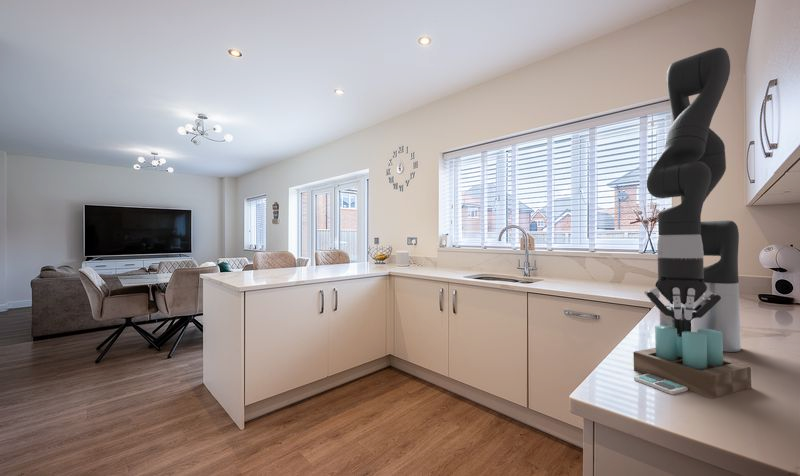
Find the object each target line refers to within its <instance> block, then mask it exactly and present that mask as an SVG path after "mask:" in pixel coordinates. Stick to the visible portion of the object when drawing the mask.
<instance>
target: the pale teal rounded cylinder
mask: <svg viewBox="0 0 800 476" xmlns="http://www.w3.org/2000/svg"><path fill="white" fill-rule="evenodd" d="M654 331H655V333H654V334H655V336H654V337H655V348H656V357H658V358H662V359H665V360H668V361H676V360H678V346H677V329H676V328H674V327H669V326H660V325H655V326H654Z"/></svg>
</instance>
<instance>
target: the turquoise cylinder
mask: <svg viewBox="0 0 800 476" xmlns="http://www.w3.org/2000/svg"><path fill="white" fill-rule="evenodd" d="M698 333H702V334H705V335H706V339H707V364H710V365H713V366H717V367H719V366H723V359H724V351H723V340H722V332H720V331H716V330H710V329H698Z"/></svg>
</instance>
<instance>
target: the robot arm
mask: <svg viewBox="0 0 800 476" xmlns="http://www.w3.org/2000/svg"><path fill="white" fill-rule="evenodd" d="M730 72H731V61H730V55H729V52H728V51H727V50H726V48H723V47H716V48H712V49H708V50H704V51H702V52H700V53H696V54H694V55H691V56H688V57H685V58H682V59H679V60H676V61H674V62H672V63H671V64H670V65H669V67H668V68H667V71H666V86H667V92H668V99H669V103H670V104H669V105H670V109H671V115H672V119H673V120H672V121H673V122H672V124H671V125H670V127H669V130H668V133H667V136H666V139H665V144H664V149H663V151H662V153H661V154H660V156H659V157H658V159H657V160H656V162H655V163H654V165H652V168H651V169H650V171H649V173H648V175H647V180H646V188H647V191H648V192H649V194H650V195H651V196H652V197H654V198H657V199H669V198H677V197H680V204H678V205H675V206H672V207H668V208H665V209H662V210H660V211H659V213H658V215H657V216H658V217H657V226H658V239H657V246H656V248H657V278H658V279H657V281H656V283H655V285H654V287H653V288H651V289H650V290H645V291H644V295H645V296H646V297H647V298H648V299H649V301H651V303H652V304H654V306H655V307H656V308H657V309H658V310H659V312H660V311H661V312H662V313H663V314H665V315H666V316H671V317H672V327H674V328H676V329H677V335H678V336H679V337H682V332H685V331H689V332H697V333H698V329H710V330H716V331H720V332H722V340H723V352H725V353H726V352H727V353H728V352H729V353H734V352H740V351H741V347H742V346H741V345H742V344H741V340H742V339H741V314H740V310H741V309H740V289H739V288H740V287H739V286H740V285H739V246H740V245H739V243H740V242H739V241H740V240H739V239H740V234H739V227H738V225H737V223H736V222H734V221H733V220H711V221H708V220H707V221H702V220H701V216H702V215H701V214H702V210H703V205H704V202H705V201H706V199H707V198H708V197H709V195H710V194H711V192H712V191H713V190H714V189H715V188H716V187H717V185H718V184H719V182H720V181H721V179H722V178H723V177H724V175H725V173H726V171H727V161H726V160H727V159H726V146H725V143H724V141H723V140H722V138H721V137H720V136H719V135H718V134H717V133H716V132H715V131H714V130H712V128H710V127H711V123H712V120H713V116H714V115H715V113H716V110H717V108H718V107H719V104H720V102H721V98H722V97H723V94H724V92H725V89H726V87H727V84H728V81H729V78H730V74H731V73H730ZM695 95H697V96H696V97H695V99H693V101H692V102H690V98H689V97H693V96H695ZM705 256H707V257H708V256H709V257H711V256H712V257H715V256H716V257H720V258H719V260H718V261H717V262H715V263H713V264H711V265H708V266H704V257H705ZM659 293H660V294H661V295H662V296H663V297H664V299H665V300H667V301H668V304H669V305H668V306H670V310H669V309H668V308H667V307H666V306H667V305H665V304H664V303H663V301H661V300H660V297H661V295H660V294H659Z"/></svg>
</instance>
